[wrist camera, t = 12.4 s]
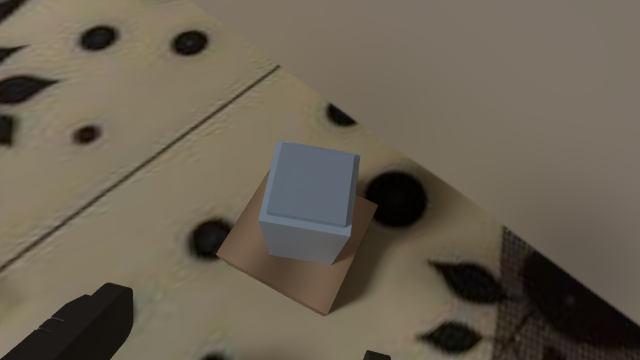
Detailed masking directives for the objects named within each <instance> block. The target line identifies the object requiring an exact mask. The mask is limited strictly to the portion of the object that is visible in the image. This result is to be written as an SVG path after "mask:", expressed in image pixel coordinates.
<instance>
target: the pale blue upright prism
mask: <svg viewBox="0 0 640 360" xmlns="http://www.w3.org/2000/svg"><path fill="white" fill-rule="evenodd" d="M359 162H360V154H354V153H348V152H343V151H337V150H331V149H326V148H320V147H314V146H308V145H303V144H297V143H291V142H286V141H280V140H277V143H276V147H275V152H274V156H273V160H272V164H271V169H270V173H269V177H268V181H267V185H266V190H265V194H264V198H263V202H262V206H261V211H260V215H259V219H258V222H259V225H260V228H261V231H262V234H263V236H264V239H265V242H266V245H267V248H268V251H269V254H270V255H273V256H279V257H285V258H291V259H297V260H302V261H308V262H314V263H320V264H326V265H331V264H332V263H333V261H334V260H335V258H336V257H337V255H338V254H339V252H340V251H341V250H342V248H343V247H344V245H345V244H346V242H347V241H348V239H349V238H350V234H351V226H352V218H353V210H354V202H355V194H356V186H357V178H358V170H359Z"/></svg>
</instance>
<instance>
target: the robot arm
mask: <svg viewBox="0 0 640 360" xmlns="http://www.w3.org/2000/svg"><path fill="white" fill-rule="evenodd" d="M132 326H133V290H132V289H131V288H129V287H125V286H121V285H117V284H113V283H106V284H104V285H103V286H102V287H100V288H99V289H98V290H97V291H96V292H95V293H94V294H93V295H91V296H90V295H86V294H85V295H83V296H81V297H79V298H77V299H75V300H73V301H71V302H69V303H67V304H65V305H64V306H63V307H62V308H61V309H59V310H58V311H57V312H56V313H55V314H53V315H52V316H51V318H50V319H48V320H46V321H45V322H44V323H43V324H42V325H40V326H39V328H38V329H37V330H35V331H33V332H32V333H31V334H30V335H29V336H27V337H26V338H25V339H24V340H23V341H21V342H20V343H19V344H18V345H17V346H16V347H14V348H13V349H12V350H11V351H10V352H8V353H7V354H6V355H5V356H4V357H2V358H1V359H0V360H110V359H111V358H112V357H113V355H114V354H115V353H116V352H117V351H118V349H119V348H120V347H121V346H122V344H123V343H124V342H125V341H126V339H127V338H128V336H129V334H130V332H131V329H132ZM363 360H391V357H390V356H389V355H385V354H381V353H377V352H373V351H369V350H367V351H366V353H365V356H364V359H363Z"/></svg>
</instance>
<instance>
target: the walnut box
mask: <svg viewBox="0 0 640 360" xmlns="http://www.w3.org/2000/svg"><path fill="white" fill-rule="evenodd" d="M270 169H271V168H270ZM269 173H270V170H269V172H268V173H267V175H266V176H265V178H264V179H263V181H262V183H261V184H260V186H259V187H258V189H257V190H256V192H255V194H254V195H253V197H252V198H251V200H250V201H249V203H248V205H247V206H246V208H245V209H244V211H243V212H242V214H241V216H240V217H239V219H238V220H237V222H236V224H235V225H234V227H233V228H232V230H231V231H230V233H229V235H228V236H227V238H226V239H225V241H224V242H223V244H222V246H221V247H220V249H219V250H218V252H217V253H216V255H217V256H219V257H220V258H221V259H222V260H223V261H225V262H226V263H227V264H229V265H230V266H232V267H234V268H236V269H238V270H240V271H241V272H243V273H245V274H247V275H249V276H250V277H252V278H254V279H256V280H258V281H260V282H261V283H263V284H265V285H267V286H269V287H271V288H272V289H274V290H276V291H278V292H280V293H281V294H283V295H285V296H287V297H289V298H291V299H292V300H294V301H296V302H298V303H300V304H302V305H303V306H305V307H307V308H309V309H311V310H312V311H314V312H316V313H318V314H320V315H322V316H323V317H324V316H326V315H328V312H329V310H330V308H331V306H332V304H333V302H334V300H335V297H336V295H337V293H338V291H339V289H340V287H341V284H342V282H343V280H344V278H345V276H346V274H347V271H348V269H349V267H350V265H351V263H352V261H353V259H354V256H355V254H356V252H357V250H358V248H359V246H360V243H361V241H362V239H363V237H364V235H365V233H366V231H367V228H368V226H369V224H370V222H371V220H372V218H373V215H374V213H375V211H376V209H377V207H378V205H377V204H375V203H372V202H370V201H368V200H366V199H364V198H362V197H360V196H358V195H356V194H355V202H354V210H353V218H352V226H351V234H350V238H349V239H348V241H347V242H346V244H345V245H344V247H343V248H342V250H341V251H340V252H339V254H338V255H337V257H336V258H335V260H334V261H333V263H332V264H331V265H326V264H320V263H314V262H308V261H302V260H297V259H291V258H285V257H279V256H273V255H270V254H269V251H268V248H267V245H266V242H265V239H264V236H263V234H262V231H261V228H260V225H259V222H258V219H259V215H260V211H261V206H262V202H263V198H264V194H265V190H266V185H267V181H268V177H269Z"/></svg>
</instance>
